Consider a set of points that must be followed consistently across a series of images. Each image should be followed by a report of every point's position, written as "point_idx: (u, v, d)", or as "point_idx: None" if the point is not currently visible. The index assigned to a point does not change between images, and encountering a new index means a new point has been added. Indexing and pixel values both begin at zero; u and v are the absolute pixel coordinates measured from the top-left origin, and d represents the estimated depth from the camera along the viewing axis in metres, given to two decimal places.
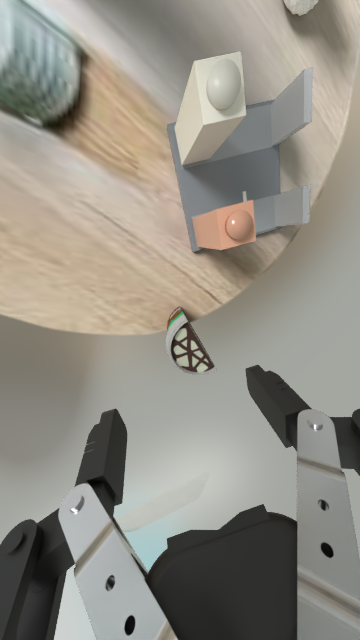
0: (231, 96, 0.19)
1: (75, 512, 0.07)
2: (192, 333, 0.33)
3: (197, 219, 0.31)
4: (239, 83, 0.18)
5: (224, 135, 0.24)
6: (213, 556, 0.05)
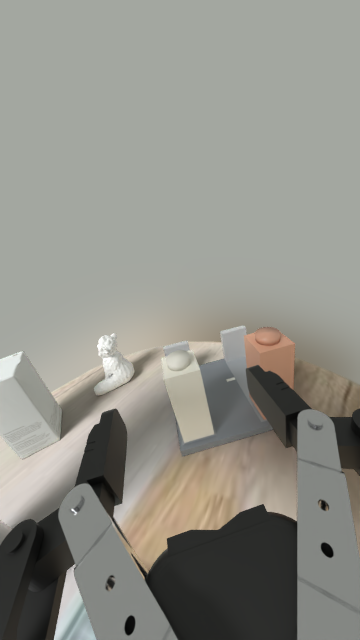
0: (184, 353, 0.26)
1: (75, 512, 0.07)
2: None
3: None
4: (178, 351, 0.27)
5: None
6: (213, 556, 0.05)
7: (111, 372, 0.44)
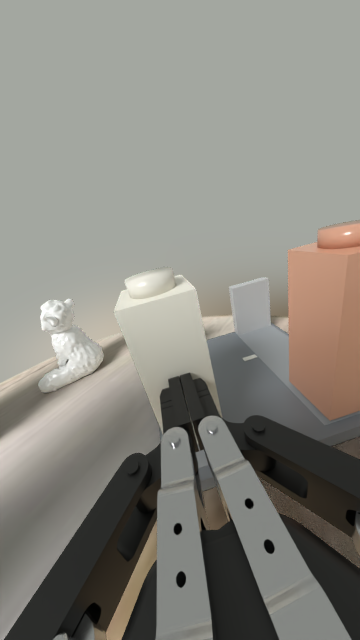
0: (164, 269, 0.13)
1: (178, 446, 0.08)
2: None
3: (339, 386, 0.14)
4: None
5: None
6: (213, 556, 0.05)
7: (65, 357, 0.29)
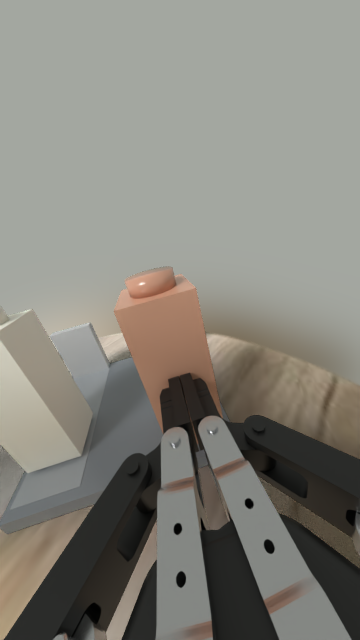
0: None
1: (178, 446, 0.08)
2: None
3: None
4: None
5: (53, 354, 0.17)
6: (213, 556, 0.05)
7: None
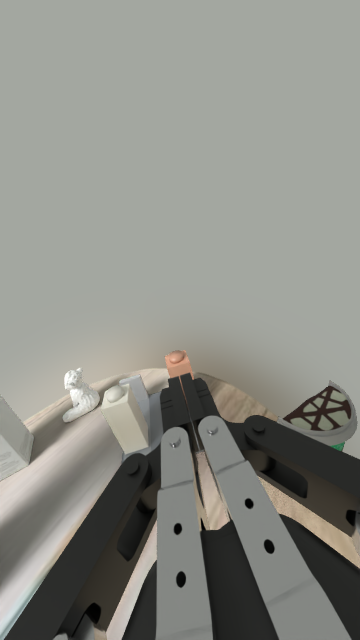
0: (119, 388, 0.35)
1: (178, 446, 0.08)
2: (294, 412, 0.30)
3: None
4: (116, 386, 0.36)
5: (135, 401, 0.38)
6: (213, 556, 0.05)
7: (77, 402, 0.51)
